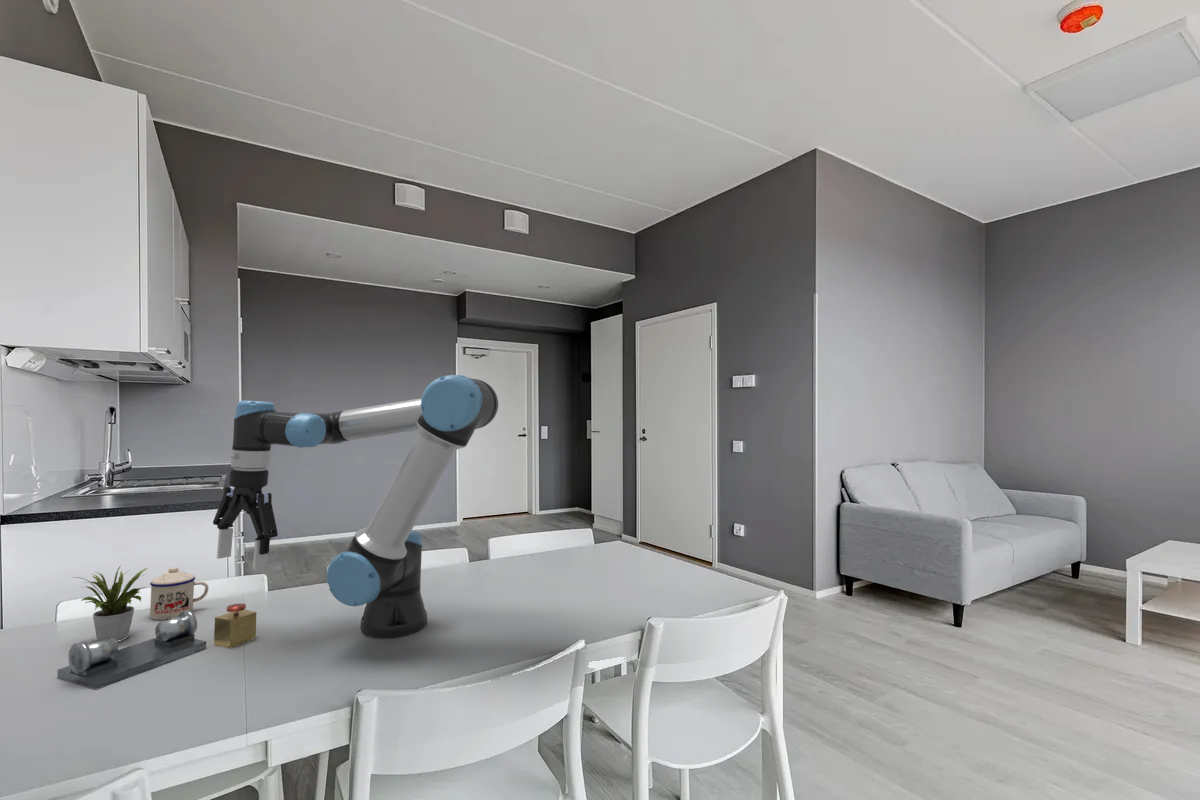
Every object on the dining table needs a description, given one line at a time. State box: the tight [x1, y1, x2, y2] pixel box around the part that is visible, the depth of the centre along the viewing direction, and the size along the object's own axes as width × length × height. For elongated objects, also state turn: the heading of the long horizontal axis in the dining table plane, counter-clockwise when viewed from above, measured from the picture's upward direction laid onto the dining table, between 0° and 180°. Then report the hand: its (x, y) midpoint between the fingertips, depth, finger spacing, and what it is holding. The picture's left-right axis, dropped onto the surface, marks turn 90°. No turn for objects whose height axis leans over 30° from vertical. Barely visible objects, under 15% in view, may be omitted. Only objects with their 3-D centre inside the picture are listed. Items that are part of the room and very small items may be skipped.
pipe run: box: [57, 610, 207, 690], centre depth 115 cm, size 20×12×7 cm, turn 159°
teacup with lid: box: [149, 566, 209, 621], centre depth 143 cm, size 12×9×12 cm
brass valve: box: [213, 603, 257, 649], centre depth 126 cm, size 6×5×8 cm
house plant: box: [73, 566, 148, 642], centre depth 125 cm, size 14×14×16 cm
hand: (241, 562), depth 127 cm, fingers open, 13 cm apart
